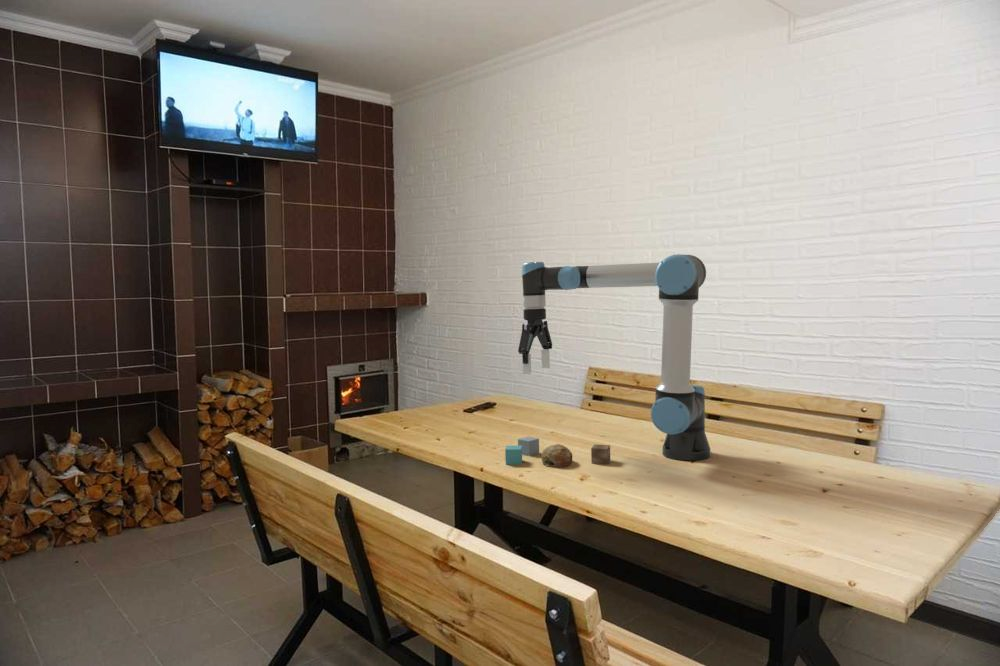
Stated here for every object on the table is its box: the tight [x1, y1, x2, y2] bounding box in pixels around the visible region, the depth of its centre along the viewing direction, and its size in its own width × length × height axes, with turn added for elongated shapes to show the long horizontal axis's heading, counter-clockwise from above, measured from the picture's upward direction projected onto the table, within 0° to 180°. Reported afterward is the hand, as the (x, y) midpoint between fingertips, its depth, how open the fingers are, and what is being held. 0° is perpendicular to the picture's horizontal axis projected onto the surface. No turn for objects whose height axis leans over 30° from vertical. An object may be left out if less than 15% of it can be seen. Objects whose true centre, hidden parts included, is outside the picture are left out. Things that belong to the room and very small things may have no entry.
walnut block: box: [590, 443, 611, 465], centre depth 224 cm, size 5×5×5 cm
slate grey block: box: [517, 436, 540, 457], centre depth 237 cm, size 5×5×5 cm
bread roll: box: [540, 443, 573, 468], centre depth 224 cm, size 10×10×8 cm
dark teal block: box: [504, 445, 523, 466], centre depth 226 cm, size 5×5×5 cm
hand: (536, 370), depth 239 cm, fingers open, 13 cm apart
